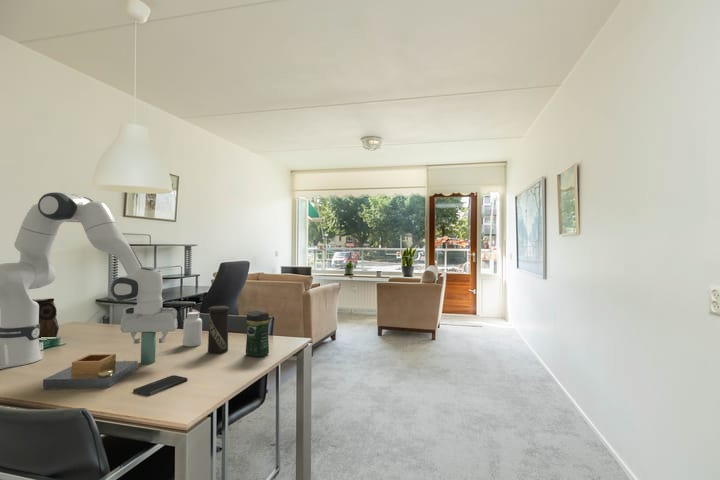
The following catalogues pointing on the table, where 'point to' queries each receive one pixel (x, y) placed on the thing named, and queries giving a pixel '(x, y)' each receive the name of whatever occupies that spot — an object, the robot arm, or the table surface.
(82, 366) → the wooden box with base
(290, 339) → the table surface
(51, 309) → the owl
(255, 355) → the coffee jar
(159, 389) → the phone
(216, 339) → the container
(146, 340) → the spout can
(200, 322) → the pill bottle
